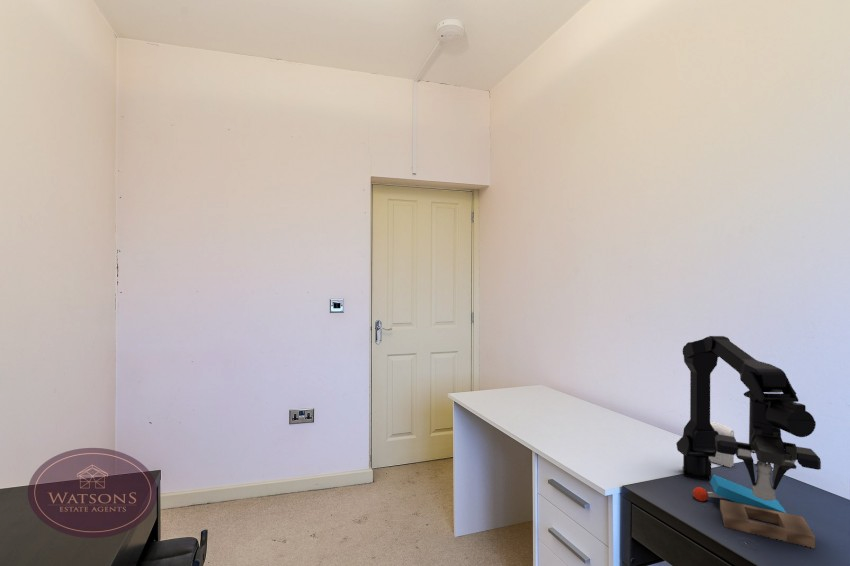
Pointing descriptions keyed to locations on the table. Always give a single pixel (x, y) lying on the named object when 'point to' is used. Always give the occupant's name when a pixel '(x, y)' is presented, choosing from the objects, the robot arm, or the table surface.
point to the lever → (735, 494)
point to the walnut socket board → (788, 528)
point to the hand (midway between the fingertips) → (763, 486)
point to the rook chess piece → (763, 482)
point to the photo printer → (719, 457)
